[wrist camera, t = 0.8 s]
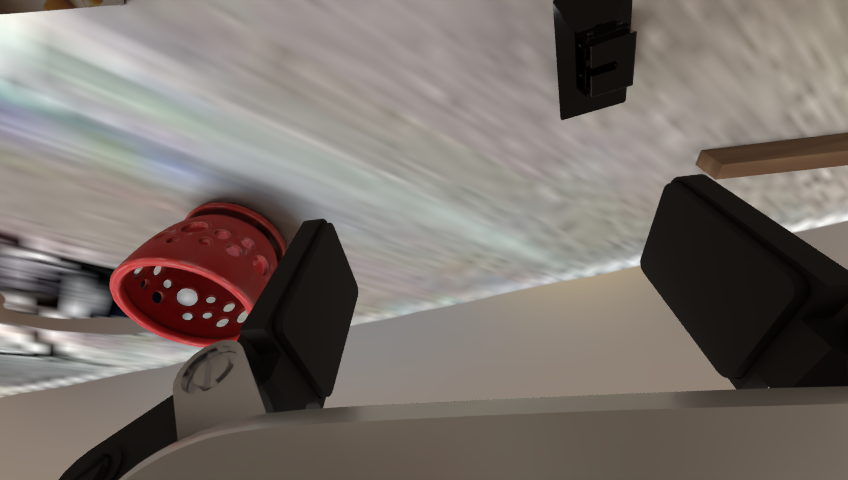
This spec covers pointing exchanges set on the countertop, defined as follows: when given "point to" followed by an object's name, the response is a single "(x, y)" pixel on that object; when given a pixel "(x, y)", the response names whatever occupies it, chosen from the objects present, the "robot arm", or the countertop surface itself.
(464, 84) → the countertop surface
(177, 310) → the plant pot
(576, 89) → the black piece
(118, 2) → the coffee box
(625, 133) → the countertop surface
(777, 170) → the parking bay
